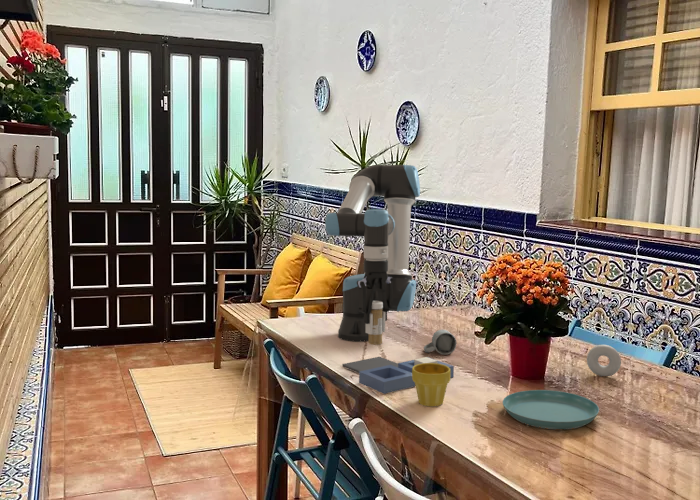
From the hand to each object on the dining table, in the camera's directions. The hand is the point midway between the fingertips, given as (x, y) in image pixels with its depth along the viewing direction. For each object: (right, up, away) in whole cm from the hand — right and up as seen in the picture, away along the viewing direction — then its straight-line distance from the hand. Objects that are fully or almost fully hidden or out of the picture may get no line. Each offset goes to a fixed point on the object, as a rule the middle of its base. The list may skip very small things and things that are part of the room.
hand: (375, 332), depth 224 cm
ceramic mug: (+23, -10, +21) cm, 32 cm away
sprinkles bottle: (0, -4, +1) cm, 4 cm away
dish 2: (+15, -13, -6) cm, 21 cm away
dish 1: (+3, -14, -14) cm, 20 cm away
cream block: (+15, -13, -6) cm, 21 cm away
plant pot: (+14, -16, -30) cm, 37 cm away
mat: (0, -12, +2) cm, 12 cm away
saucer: (+44, -18, -39) cm, 61 cm away
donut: (+70, -13, -6) cm, 71 cm away
